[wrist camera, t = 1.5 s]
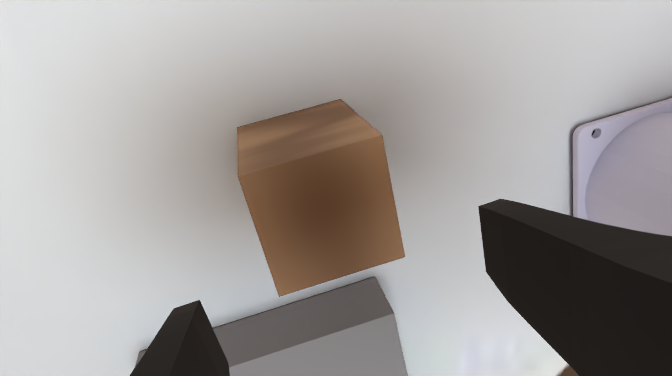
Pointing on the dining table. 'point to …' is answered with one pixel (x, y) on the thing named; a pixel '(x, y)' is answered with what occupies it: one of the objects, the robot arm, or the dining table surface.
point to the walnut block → (318, 195)
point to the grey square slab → (318, 337)
